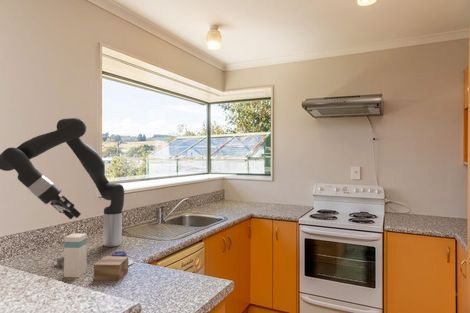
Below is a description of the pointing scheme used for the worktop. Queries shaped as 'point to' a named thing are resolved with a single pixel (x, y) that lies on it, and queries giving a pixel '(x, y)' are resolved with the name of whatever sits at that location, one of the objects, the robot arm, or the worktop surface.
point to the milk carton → (75, 255)
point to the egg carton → (60, 261)
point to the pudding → (122, 254)
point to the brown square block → (110, 268)
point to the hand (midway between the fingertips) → (75, 216)
